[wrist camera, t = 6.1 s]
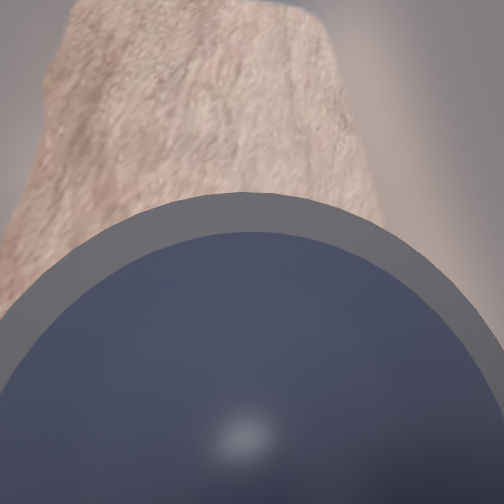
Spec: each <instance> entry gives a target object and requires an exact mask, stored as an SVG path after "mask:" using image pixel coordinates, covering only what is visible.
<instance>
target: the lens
mask: <svg viewBox="0 0 504 504" xmlns="http://www.w3.org/2000/svg"><path fill="white" fill-rule="evenodd" d="M0 504H504V351H503V349H502V347H501V345H500V344H499V342H498V340H497V339H496V337H495V336H494V334H493V333H492V332H491V330H490V329H489V327H488V326H487V324H486V323H485V321H484V320H483V319H482V317H481V316H480V314H479V313H478V312H477V310H476V309H475V308H474V307H473V305H472V304H471V303H470V302H469V301H468V300H467V299H466V297H465V296H464V295H463V294H462V293H461V292H460V291H459V289H458V288H457V287H456V286H455V285H454V284H453V282H451V280H449V279H448V278H447V277H446V276H445V275H444V274H443V273H442V272H441V271H440V270H439V269H437V268H436V267H435V266H434V265H433V264H432V263H431V262H430V261H429V260H428V259H427V258H425V257H424V256H423V255H421V254H420V253H419V252H417V251H416V250H414V249H413V248H412V247H410V246H409V245H408V244H406V243H405V242H403V241H402V240H401V239H399V238H398V237H396V236H395V235H393V234H391V233H389V232H387V231H386V230H384V229H382V228H380V227H379V226H377V225H375V224H373V223H372V222H370V221H368V220H366V219H363V218H361V217H358V216H356V215H354V214H351V213H349V212H346V211H344V210H342V209H339V208H337V207H333V206H330V205H326V204H323V203H319V202H316V201H312V200H309V199H305V198H299V197H292V196H286V195H280V194H274V193H249V192H236V193H224V194H212V195H204V196H199V197H194V198H189V199H185V200H180V201H175V202H171V203H168V204H165V205H162V206H159V207H156V208H153V209H150V210H147V211H144V212H141V213H139V214H137V215H134V216H132V217H130V218H128V219H126V220H124V221H122V222H120V223H118V224H116V225H113V226H111V227H109V228H107V229H105V230H104V231H102V232H100V233H99V234H97V235H96V236H94V237H92V238H91V239H89V240H88V241H86V242H85V243H83V244H81V245H80V246H78V247H77V248H75V249H73V250H72V251H71V252H70V253H68V254H67V255H66V256H65V257H63V258H62V259H61V260H60V261H58V262H57V263H56V264H55V265H54V266H52V267H51V268H50V269H49V270H47V271H46V272H45V273H44V274H42V275H41V276H40V277H39V278H38V279H37V280H36V281H35V282H34V283H33V284H32V285H31V286H30V287H29V289H28V290H27V291H26V292H25V293H24V294H23V295H22V296H21V297H20V298H19V299H18V300H17V301H16V302H15V303H14V304H13V305H12V306H11V307H10V309H9V310H8V311H7V312H6V314H5V315H4V316H3V318H2V319H1V320H0Z"/></svg>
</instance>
